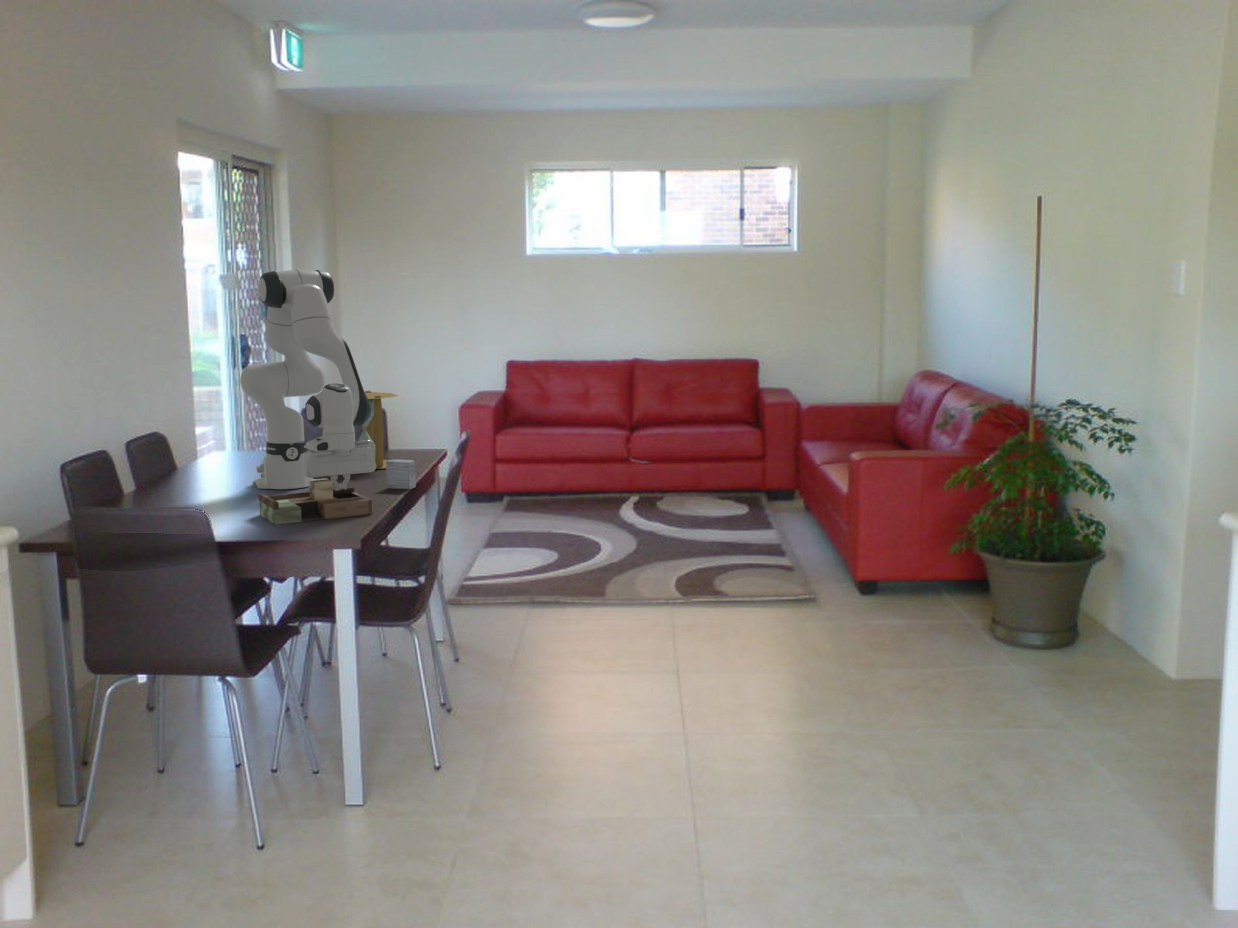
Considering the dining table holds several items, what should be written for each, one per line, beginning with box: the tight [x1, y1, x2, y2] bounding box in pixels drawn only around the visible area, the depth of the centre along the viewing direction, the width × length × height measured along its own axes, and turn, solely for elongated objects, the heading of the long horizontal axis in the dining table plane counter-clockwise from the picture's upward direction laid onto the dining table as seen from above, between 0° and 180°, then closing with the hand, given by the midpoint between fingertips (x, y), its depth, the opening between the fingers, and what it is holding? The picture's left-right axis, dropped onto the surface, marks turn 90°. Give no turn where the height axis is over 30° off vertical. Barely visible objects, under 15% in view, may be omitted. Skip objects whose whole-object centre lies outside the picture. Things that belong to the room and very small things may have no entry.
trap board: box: [258, 487, 373, 526], centre depth 330 cm, size 15×27×6 cm, turn 122°
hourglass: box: [357, 390, 399, 470], centre depth 410 cm, size 24×22×25 cm
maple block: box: [308, 477, 334, 500], centre depth 332 cm, size 5×5×5 cm
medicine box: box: [385, 459, 417, 490], centre depth 369 cm, size 8×4×9 cm, turn 74°
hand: (340, 490), depth 336 cm, fingers closed
